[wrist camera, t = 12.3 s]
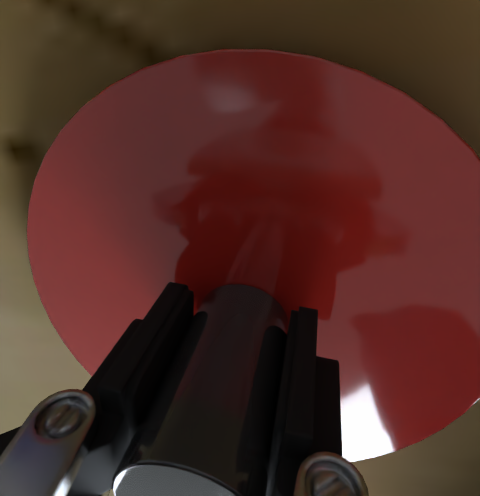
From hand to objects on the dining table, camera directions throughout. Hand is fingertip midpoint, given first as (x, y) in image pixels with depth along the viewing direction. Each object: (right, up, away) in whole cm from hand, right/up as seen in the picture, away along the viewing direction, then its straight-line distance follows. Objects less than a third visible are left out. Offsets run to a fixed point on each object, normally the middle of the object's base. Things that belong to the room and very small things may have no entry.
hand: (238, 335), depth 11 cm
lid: (0, +1, +1) cm, 1 cm away
